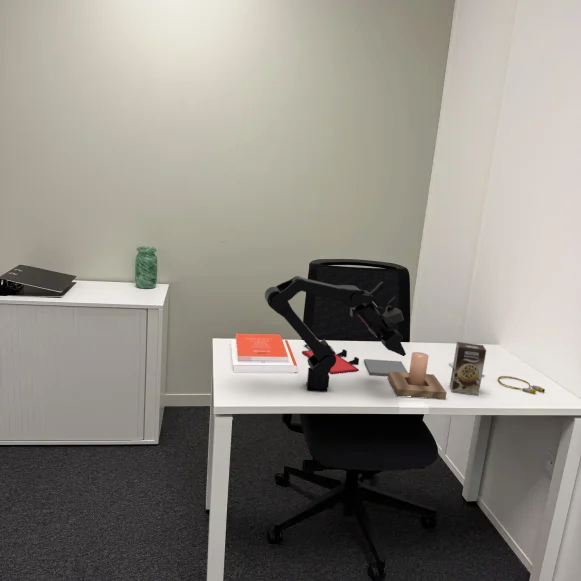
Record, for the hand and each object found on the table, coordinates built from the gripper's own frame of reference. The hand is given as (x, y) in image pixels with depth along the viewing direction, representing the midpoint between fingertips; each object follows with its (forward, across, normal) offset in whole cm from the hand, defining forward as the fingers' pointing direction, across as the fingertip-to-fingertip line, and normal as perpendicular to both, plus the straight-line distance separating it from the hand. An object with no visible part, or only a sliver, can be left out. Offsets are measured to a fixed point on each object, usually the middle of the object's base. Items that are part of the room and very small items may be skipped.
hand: (399, 350), depth 204 cm
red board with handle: (-1, +29, +21) cm, 36 cm away
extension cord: (+44, +4, -23) cm, 49 cm away
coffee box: (+27, -1, -7) cm, 28 cm away
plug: (+15, 0, +4) cm, 15 cm away
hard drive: (+34, +18, -14) cm, 41 cm away
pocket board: (+15, 0, +4) cm, 15 cm away
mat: (+11, +18, +8) cm, 23 cm away
